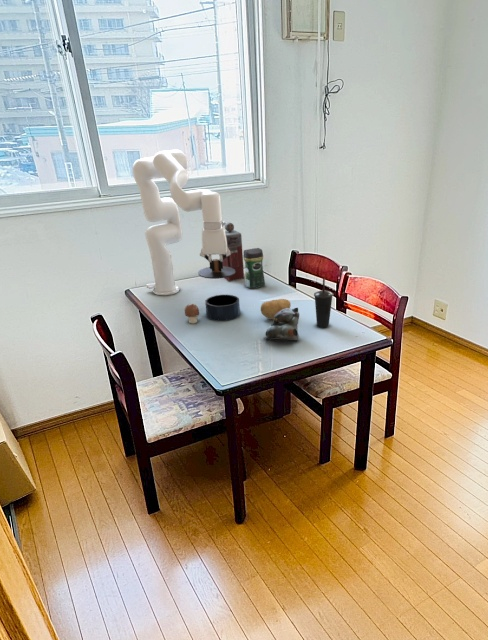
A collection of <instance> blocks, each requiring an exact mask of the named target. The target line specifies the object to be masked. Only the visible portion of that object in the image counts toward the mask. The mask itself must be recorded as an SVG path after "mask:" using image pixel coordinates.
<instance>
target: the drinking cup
mask: <svg viewBox="0 0 488 640" xmlns="http://www.w3.org/2000/svg"><path fill="white" fill-rule="evenodd" d="M325 284H326V278H325V277H323V278H322V290H318V291H315V292H314V293H313V296H314V304H315V318H316V327H317V328H319V329H327V328H328V327H329V326H330V319H331V318H330V317H331V312H332V311H331V309H332V303H333V296H334V293H333V292H331V291H330V290H326V288H325V286H326V285H325Z"/></svg>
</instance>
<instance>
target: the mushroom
mask: <svg viewBox="0 0 488 640" xmlns="http://www.w3.org/2000/svg"><path fill="white" fill-rule="evenodd" d="M199 315H200V309H199V307H198V306H197V305H196V304H194V303H188V304H187V305H186V306H185V308H184V316H185V317H187V318H188V323H189V324H195V323H198V316H199Z"/></svg>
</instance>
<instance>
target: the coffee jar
mask: <svg viewBox="0 0 488 640" xmlns="http://www.w3.org/2000/svg"><path fill="white" fill-rule="evenodd" d="M263 253H264V252H263V249H262V248H260V247H255V248H248V249H244V250H243V262H244V264H245V269H244V285H245V287H246V288H248V289H258V288H262V287H264V286H266V280H265V274H264V267H263V261H264V254H263Z"/></svg>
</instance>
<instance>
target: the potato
mask: <svg viewBox="0 0 488 640" xmlns="http://www.w3.org/2000/svg"><path fill="white" fill-rule="evenodd" d="M286 308H291V301H290V300H288V299H285V298H278V299H272V300H269V301H264V302H263V303H262V304H261V305H260V314H262V316H263V317H265V318H266V319H269V320H274V316H275V315H276V314H277V313H278V312H280V311H281V310H282V309H286Z"/></svg>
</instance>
